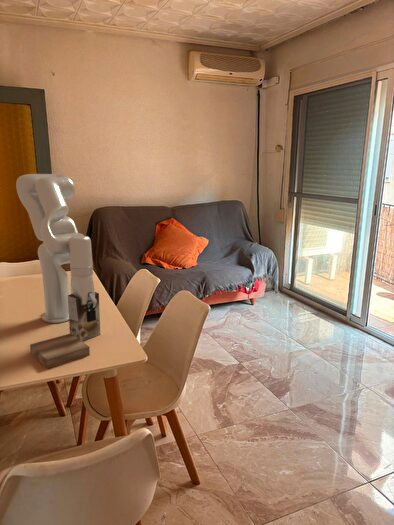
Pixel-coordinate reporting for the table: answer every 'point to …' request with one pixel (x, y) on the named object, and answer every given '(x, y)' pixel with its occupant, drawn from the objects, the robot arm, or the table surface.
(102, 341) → the table surface
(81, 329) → the coffee box
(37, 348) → the brownish grey square block
